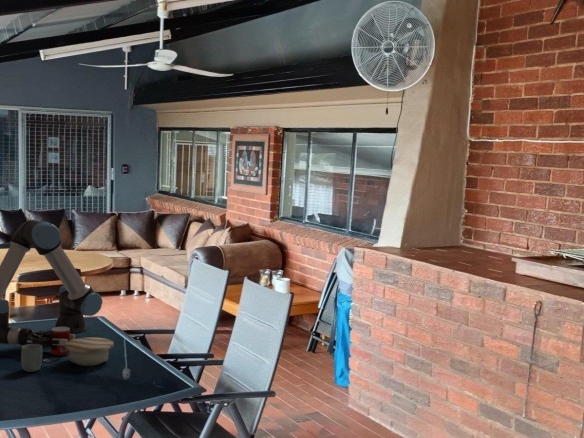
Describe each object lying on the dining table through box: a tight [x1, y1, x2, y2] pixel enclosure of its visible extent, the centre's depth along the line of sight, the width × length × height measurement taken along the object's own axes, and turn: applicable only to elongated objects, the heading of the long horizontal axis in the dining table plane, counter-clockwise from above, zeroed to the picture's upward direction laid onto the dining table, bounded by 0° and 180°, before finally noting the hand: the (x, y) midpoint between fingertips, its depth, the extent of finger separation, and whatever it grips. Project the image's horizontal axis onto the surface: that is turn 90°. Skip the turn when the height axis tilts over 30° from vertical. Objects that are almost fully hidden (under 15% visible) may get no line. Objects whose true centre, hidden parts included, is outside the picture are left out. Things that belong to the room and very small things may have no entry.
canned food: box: [50, 326, 71, 356], centre depth 293 cm, size 8×8×11 cm
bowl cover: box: [65, 336, 114, 353], centre depth 284 cm, size 20×20×1 cm
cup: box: [20, 344, 43, 373], centre depth 270 cm, size 8×8×10 cm
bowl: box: [69, 349, 110, 367], centre depth 285 cm, size 16×16×7 cm
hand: (70, 339), depth 293 cm, fingers closed on canned food, 8 cm apart
